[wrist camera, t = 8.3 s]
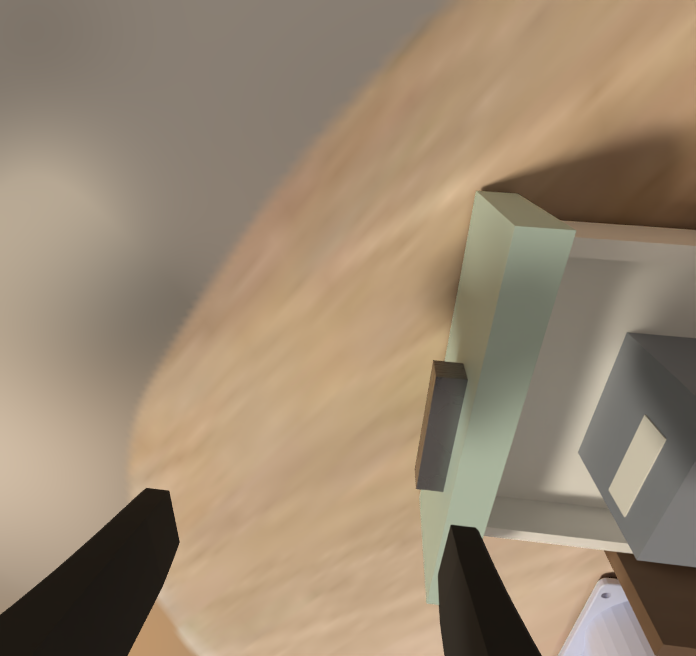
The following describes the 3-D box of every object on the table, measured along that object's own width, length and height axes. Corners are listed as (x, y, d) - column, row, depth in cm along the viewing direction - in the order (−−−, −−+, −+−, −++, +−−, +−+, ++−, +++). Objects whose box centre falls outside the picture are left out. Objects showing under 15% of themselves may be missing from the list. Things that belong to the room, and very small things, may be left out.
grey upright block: (740, 342, 15) (882, 434, 11) (673, 462, 18) (765, 575, 14) (625, 332, 16) (718, 418, 11) (576, 452, 18) (635, 559, 14)
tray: (692, 529, 20) (779, 649, 16) (399, 495, 21) (401, 600, 17) (893, 218, 13) (1153, 271, 9) (447, 188, 14) (471, 223, 10)
